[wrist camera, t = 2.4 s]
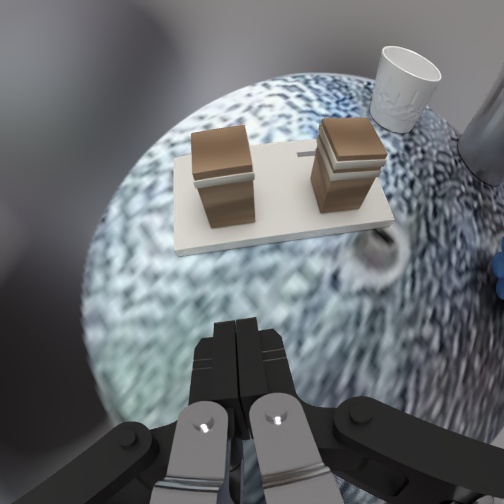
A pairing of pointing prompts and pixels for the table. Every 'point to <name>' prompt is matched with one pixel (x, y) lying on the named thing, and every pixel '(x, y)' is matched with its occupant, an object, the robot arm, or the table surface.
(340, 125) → the two band post
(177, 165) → the white rectangular board
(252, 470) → the table surface
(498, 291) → the grapes
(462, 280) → the table surface
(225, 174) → the one band post
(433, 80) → the white cup
